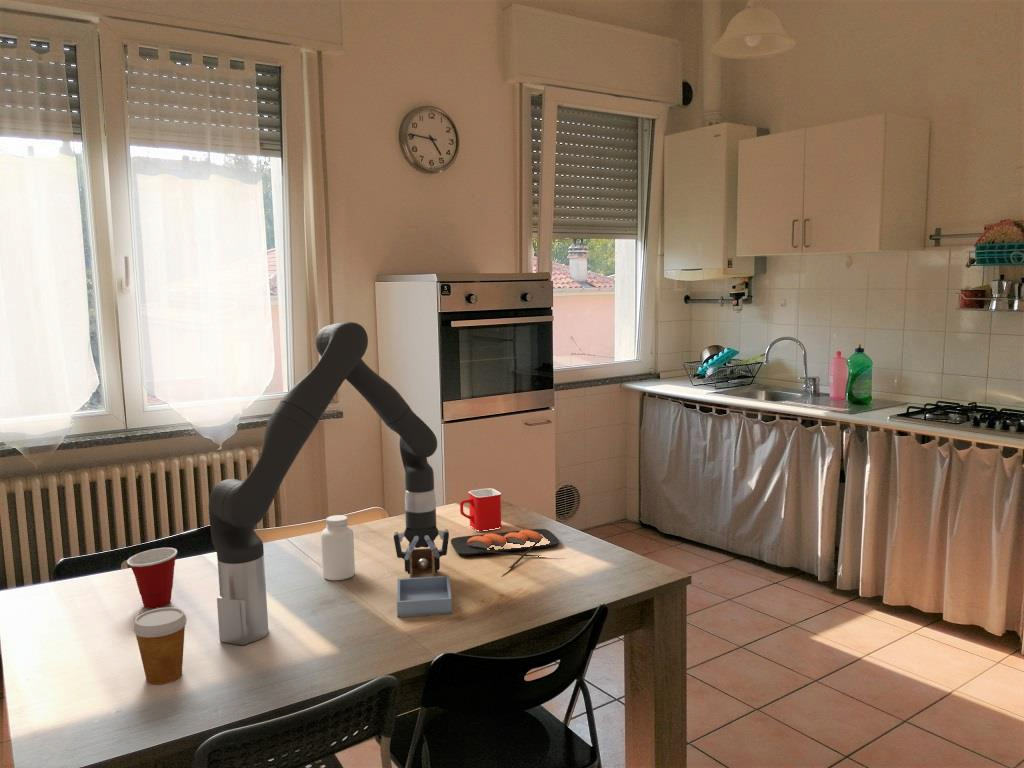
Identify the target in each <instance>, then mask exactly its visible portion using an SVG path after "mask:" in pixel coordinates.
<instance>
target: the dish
mask: <svg viewBox="0 0 1024 768" xmlns="http://www.w3.org/2000/svg"><path fill="white" fill-rule="evenodd" d="M396 587H397V589H396V591H397V592H396V593H397V595H396V598H397V599H396V609H397V611H396V613H397V614H396V615H397V618H406V617H407V618H409V617H410V618H411V617H422V616H423V617H424V616H436V615H437V616H439V615H440V616H441V615H451V614H453V606H452V605H453V604H452V602H453V601H452V592H451V584H450V577H449V575H441V576H440V575H438V576H437V575H436V576H435V577H422V578H408V577H407V578H398V579H397V586H396Z"/></svg>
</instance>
